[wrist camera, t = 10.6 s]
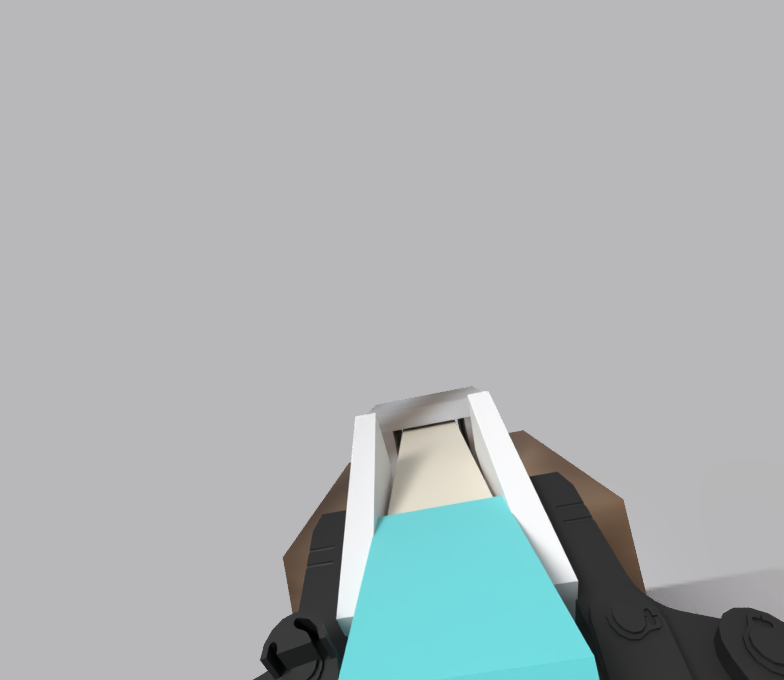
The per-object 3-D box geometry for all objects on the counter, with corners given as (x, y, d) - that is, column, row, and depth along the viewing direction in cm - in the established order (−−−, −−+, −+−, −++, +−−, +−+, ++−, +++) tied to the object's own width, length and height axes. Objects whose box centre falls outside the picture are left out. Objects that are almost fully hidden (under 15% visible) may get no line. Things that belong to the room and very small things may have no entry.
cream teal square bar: (386, 959, 5) (334, 694, 5) (412, 455, 27) (403, 409, 27) (655, 935, 4) (594, 656, 5) (458, 446, 26) (448, 400, 27)
